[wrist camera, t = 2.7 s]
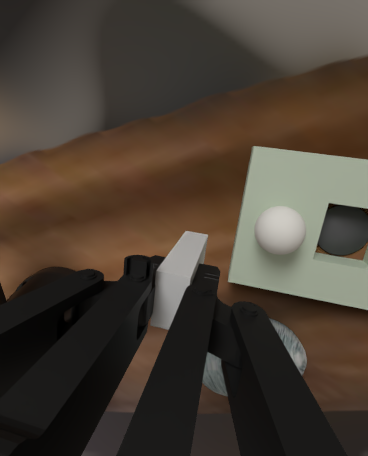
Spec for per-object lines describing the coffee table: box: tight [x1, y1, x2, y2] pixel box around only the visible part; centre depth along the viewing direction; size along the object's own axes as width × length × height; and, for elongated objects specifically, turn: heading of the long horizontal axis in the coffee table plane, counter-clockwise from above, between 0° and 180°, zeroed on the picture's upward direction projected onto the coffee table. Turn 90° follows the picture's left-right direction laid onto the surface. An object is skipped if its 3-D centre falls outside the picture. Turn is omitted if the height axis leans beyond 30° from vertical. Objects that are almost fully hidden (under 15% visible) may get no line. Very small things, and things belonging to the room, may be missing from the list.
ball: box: [254, 206, 306, 255], centre depth 27 cm, size 5×5×5 cm
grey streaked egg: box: [202, 318, 307, 396], centre depth 33 cm, size 14×10×10 cm
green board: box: [228, 146, 368, 310], centre depth 30 cm, size 18×16×3 cm
